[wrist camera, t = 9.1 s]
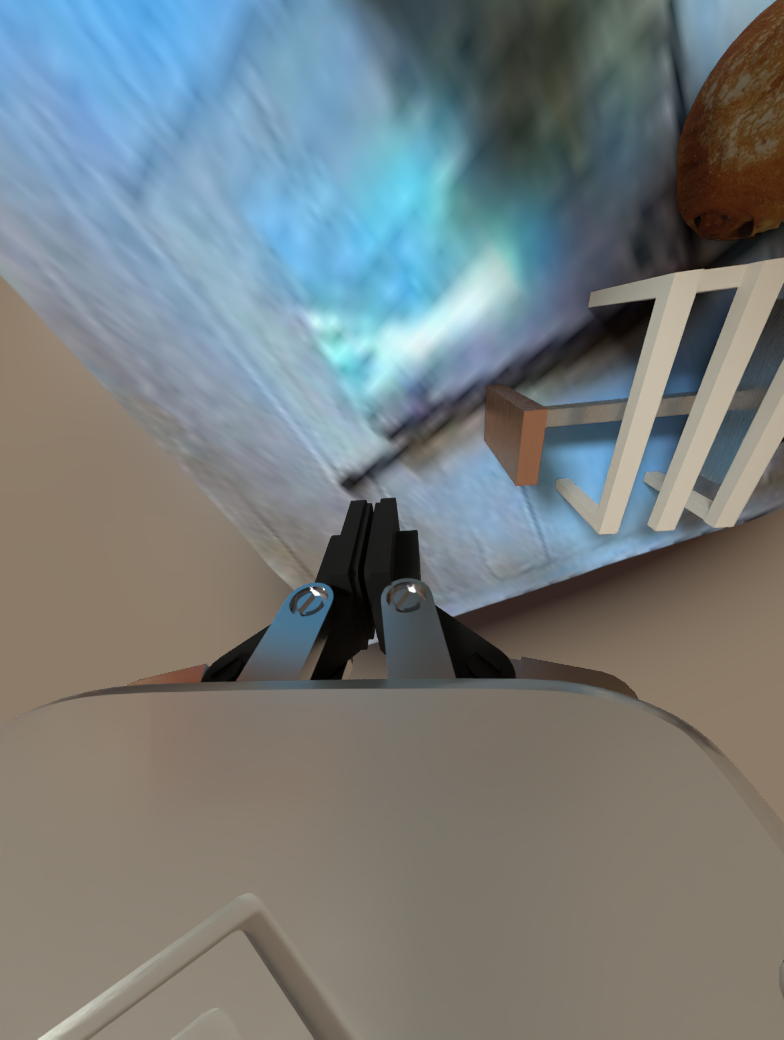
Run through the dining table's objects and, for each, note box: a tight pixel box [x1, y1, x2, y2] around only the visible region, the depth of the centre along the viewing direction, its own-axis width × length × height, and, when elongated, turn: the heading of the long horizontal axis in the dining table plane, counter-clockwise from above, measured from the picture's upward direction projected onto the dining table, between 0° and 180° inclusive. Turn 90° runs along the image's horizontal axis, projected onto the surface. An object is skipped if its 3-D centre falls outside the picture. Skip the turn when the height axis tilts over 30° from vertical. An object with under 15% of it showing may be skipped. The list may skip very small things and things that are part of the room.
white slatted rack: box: [555, 258, 784, 534], centre depth 24 cm, size 17×10×9 cm, turn 6°
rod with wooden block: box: [484, 299, 784, 486], centre depth 23 cm, size 13×20×11 cm, turn 96°
